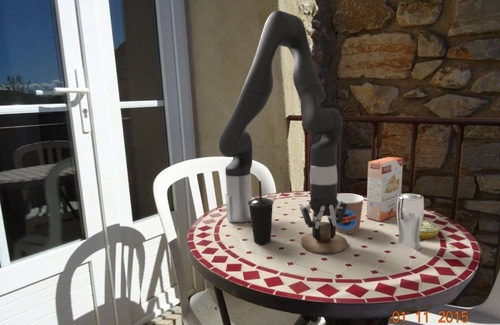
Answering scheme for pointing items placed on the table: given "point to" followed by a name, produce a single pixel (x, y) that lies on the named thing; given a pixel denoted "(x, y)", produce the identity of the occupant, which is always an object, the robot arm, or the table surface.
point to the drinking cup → (261, 218)
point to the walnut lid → (324, 241)
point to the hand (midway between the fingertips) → (324, 238)
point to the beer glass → (410, 219)
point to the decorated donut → (428, 230)
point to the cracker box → (383, 187)
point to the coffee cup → (350, 213)
